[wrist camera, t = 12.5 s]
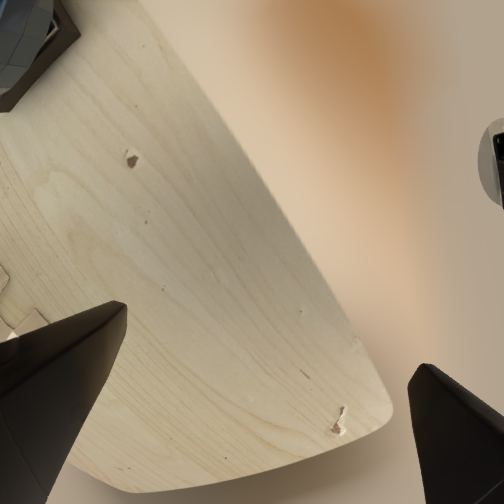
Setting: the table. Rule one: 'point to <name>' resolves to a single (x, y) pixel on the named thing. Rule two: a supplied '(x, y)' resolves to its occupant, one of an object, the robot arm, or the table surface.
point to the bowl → (21, 37)
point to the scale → (44, 54)
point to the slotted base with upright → (30, 323)
